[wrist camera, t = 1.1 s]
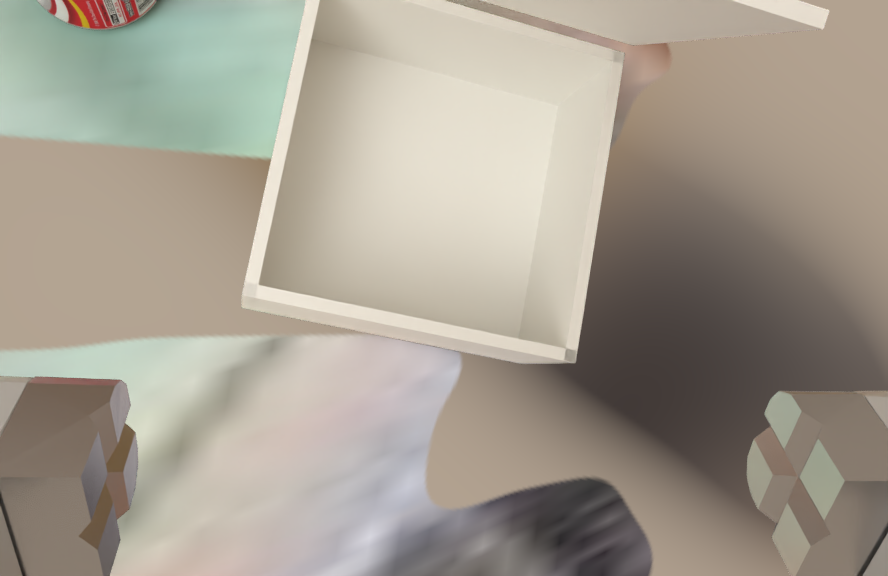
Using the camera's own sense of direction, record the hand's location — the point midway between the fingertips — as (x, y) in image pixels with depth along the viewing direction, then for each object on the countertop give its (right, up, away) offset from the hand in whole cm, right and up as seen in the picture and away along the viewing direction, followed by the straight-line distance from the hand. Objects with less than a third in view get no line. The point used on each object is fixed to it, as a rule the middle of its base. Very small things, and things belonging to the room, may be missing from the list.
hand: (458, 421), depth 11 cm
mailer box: (-2, +7, +37) cm, 38 cm away
